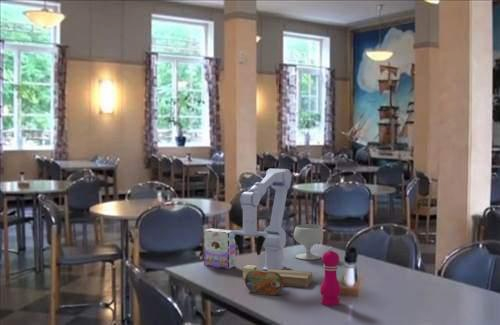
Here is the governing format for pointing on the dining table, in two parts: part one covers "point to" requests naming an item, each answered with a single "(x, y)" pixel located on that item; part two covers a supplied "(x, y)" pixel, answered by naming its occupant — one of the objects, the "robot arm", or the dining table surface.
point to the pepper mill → (330, 279)
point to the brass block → (294, 277)
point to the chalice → (308, 239)
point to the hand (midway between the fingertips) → (249, 253)
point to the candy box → (219, 248)
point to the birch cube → (248, 270)
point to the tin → (264, 282)
